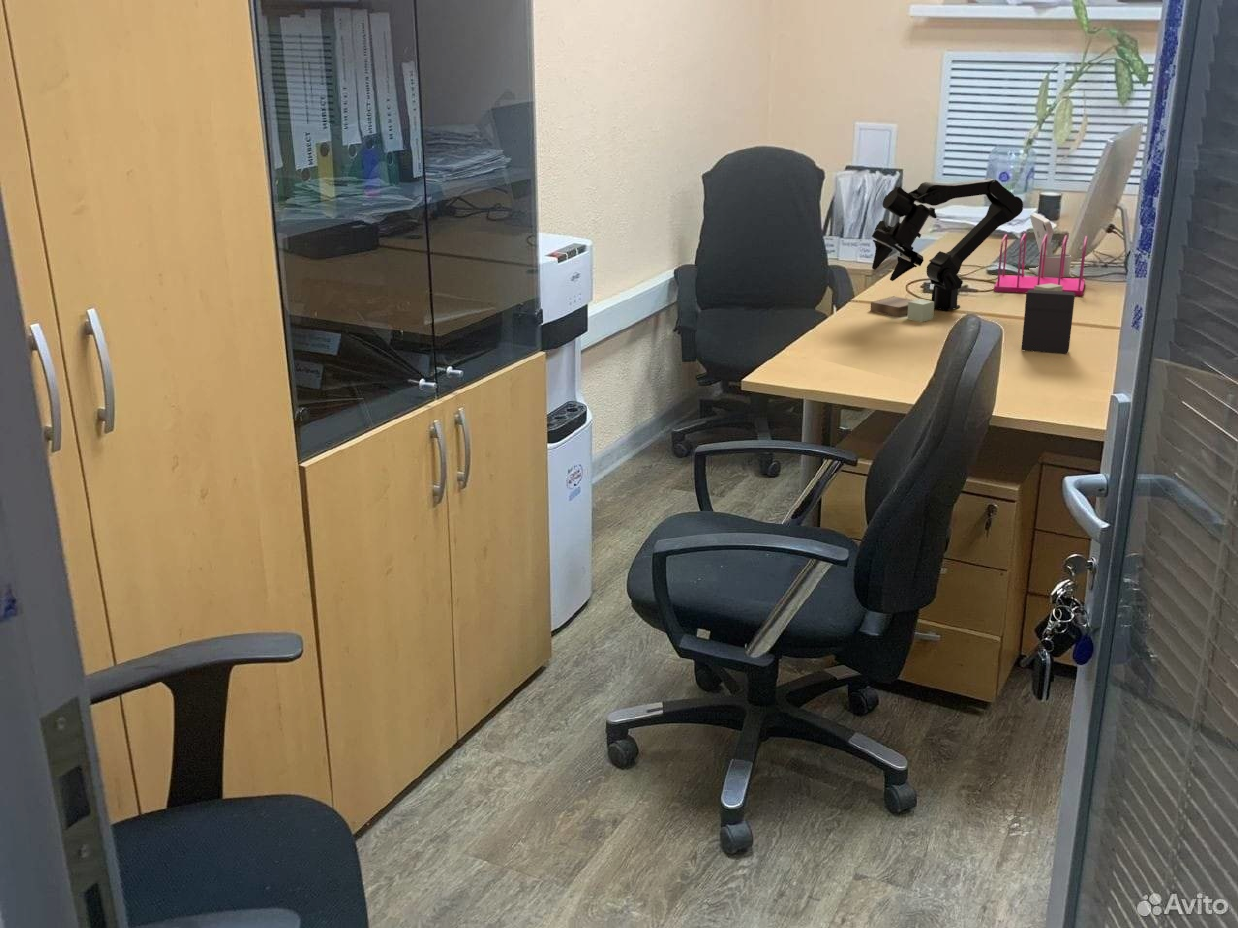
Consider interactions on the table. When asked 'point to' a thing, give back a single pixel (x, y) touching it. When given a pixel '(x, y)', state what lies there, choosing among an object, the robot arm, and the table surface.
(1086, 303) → the table surface
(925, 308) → the sage cube
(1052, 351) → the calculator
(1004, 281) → the file sorter
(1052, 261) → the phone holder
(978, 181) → the robot arm
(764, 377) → the table surface
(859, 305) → the table surface
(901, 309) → the walnut block
